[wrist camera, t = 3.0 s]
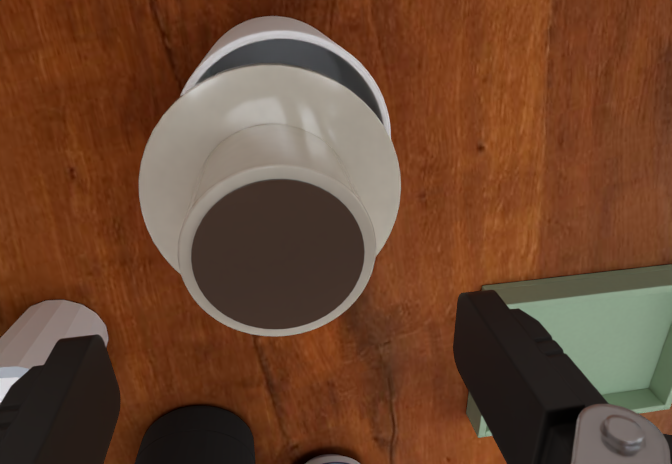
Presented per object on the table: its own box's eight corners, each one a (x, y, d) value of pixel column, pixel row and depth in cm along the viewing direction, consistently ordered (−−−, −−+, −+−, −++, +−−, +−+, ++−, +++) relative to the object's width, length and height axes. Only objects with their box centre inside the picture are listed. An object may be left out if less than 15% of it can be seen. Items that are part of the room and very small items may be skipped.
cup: (365, 38, 27) (420, 64, 18) (313, 228, 31) (336, 325, 23) (213, -6, 25) (188, -1, 16) (182, 206, 29) (150, 301, 21)
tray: (692, 261, 38) (720, 279, 35) (647, 386, 44) (669, 409, 41) (481, 285, 36) (497, 305, 33) (465, 413, 42) (478, 438, 39)
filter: (401, 54, 17) (452, 79, 13) (394, 286, 22) (430, 365, 17) (112, 70, 16) (55, 104, 12) (169, 311, 21) (144, 402, 16)
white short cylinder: (8, 368, 33) (-50, 457, 27) (4, 285, 30) (-62, 362, 24) (115, 377, 35) (84, 462, 28) (121, 298, 32) (88, 373, 26)
